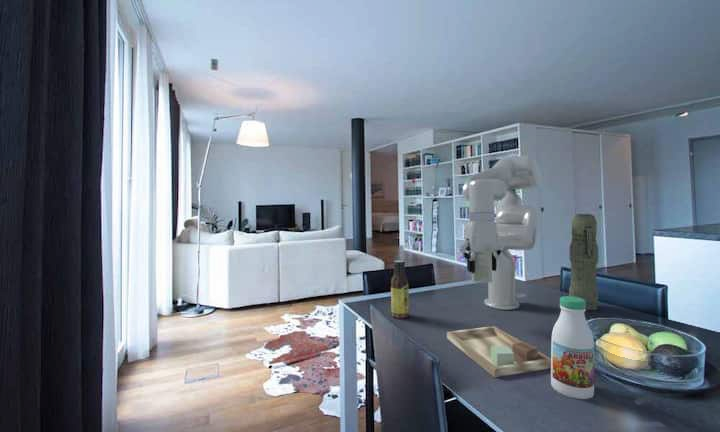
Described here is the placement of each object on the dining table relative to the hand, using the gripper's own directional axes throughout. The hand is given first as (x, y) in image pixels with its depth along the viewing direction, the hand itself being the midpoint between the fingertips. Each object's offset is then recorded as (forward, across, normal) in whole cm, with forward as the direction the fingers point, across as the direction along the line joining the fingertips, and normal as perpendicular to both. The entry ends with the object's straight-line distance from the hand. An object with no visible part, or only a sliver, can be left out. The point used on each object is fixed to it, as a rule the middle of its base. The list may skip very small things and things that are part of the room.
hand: (481, 270), depth 106 cm
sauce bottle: (+18, +24, -14) cm, 33 cm away
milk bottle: (+17, +5, +38) cm, 43 cm away
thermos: (+19, -45, -4) cm, 49 cm away
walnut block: (+17, +6, +26) cm, 32 cm away
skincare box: (+4, 0, 0) cm, 4 cm away
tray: (+17, +10, +20) cm, 28 cm away
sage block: (+17, +13, +26) cm, 34 cm away
